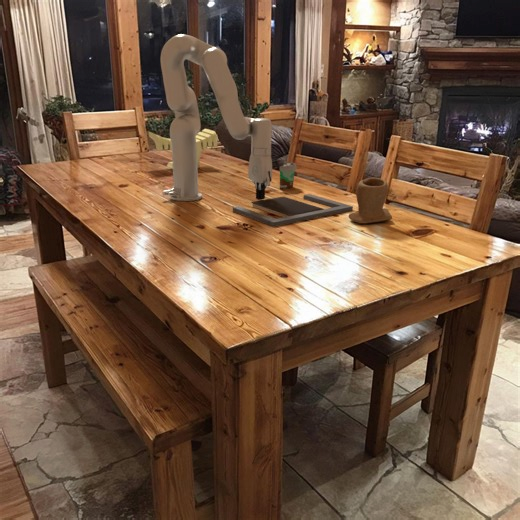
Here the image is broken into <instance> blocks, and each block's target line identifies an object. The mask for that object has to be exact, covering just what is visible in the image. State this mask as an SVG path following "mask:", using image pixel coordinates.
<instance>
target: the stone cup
mask: <svg viewBox="0 0 520 520" xmlns="http://www.w3.org/2000/svg"><path fill="white" fill-rule="evenodd" d="M388 191H389V185H388V182H387V181H386V180H385V179H383V178H381V177H380V178H379V177H367V178H365V179H361V180H360V181H359V182H358V183H357V186H356V192H355V193H356V194H355V195H356V202H357V205H358V207H357V209H358V211H356V212H352V213H349V214H348V218H349V219H350V220H351V221H353V222H356V223H357V224H372V223H379V222H384V221H390V220H393V217H392V214H391V212H390V210H389V209H388V208H384V205H385V201H386V199H387V196H388V194H389V193H388Z"/></svg>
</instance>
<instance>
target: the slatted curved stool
mask: <svg viewBox="0 0 520 520" xmlns="http://www.w3.org/2000/svg"><path fill="white" fill-rule="evenodd" d="M148 138H150V139H151V140H152V141H153V143H154V144H155V149H156V151H158V152H160V151H164V150H165V151H166V150H170V151H172V145H171V138H169V137H168V138H167V137H163V136H161V135H158V134H156V133H155V132H151V131H148ZM196 147H197V169H201V165H200V161H201V155H202V151H203V150H205V149H206V148H212V147H214V148H218V135H217V133H216V131H215V130H212V129H209V128H204V129H202V130H201V131H199V133H198V134H197V135H196ZM166 167H168V168H169V169H172V170H173V161H168V163H167V165H166Z"/></svg>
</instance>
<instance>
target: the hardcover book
mask: <svg viewBox="0 0 520 520" xmlns="http://www.w3.org/2000/svg"><path fill="white" fill-rule="evenodd" d="M251 204H252V207H253V208H255V209H258V210H262V211H265V212H267V213H271V214H273V215H277V216H279V217H280V218H283V217H288V216H293V215H298V214H303V213H308V212H313V211H318V210H323V209H324V208H323V207H320V206H316V205H312V204H309V203H305V202H303V201H299V200H296V199H294V198H291V197H290V198H289V197H286V196H278V197H273V198H267V199H266V198H265V199H261V200H255V201H251Z"/></svg>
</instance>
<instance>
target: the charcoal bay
mask: <svg viewBox="0 0 520 520" xmlns="http://www.w3.org/2000/svg"><path fill="white" fill-rule="evenodd" d="M303 200H306V201H311V202H312V203H313V202H314V203H317V204H320V205H323V206H327V207H328V208H323V210H318V211H313V212H308V213H303V214H298V215H293V216H288V217H279V218H273V217H271V216H268V215H266V214H263V213H260V212H257V211H254V210H252V209H249V208H246V207H243V206H240V205H238V206H233V207H232V212H233V213H236V214H240V215H242V216H245V217H247V218H250V219H252V220H255V221H258V222H260V223H263V224H266V225H268V226H271V227H278V226H284V225H288V224H293V223H294V224H295V223H298V222H303V221H308V220H313V219H317V218H322V217H326V216H332V215H337V214H342V213H348V212H350V211H351V210H352V211H353V210H354V209H353V208H354V206H353V205H349V204H346V203H344V202H343V203H342V202H339V201H335V200H332V199H328V198H326V197H322V196H317V195H314V194H311V193H307V194H303Z"/></svg>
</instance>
